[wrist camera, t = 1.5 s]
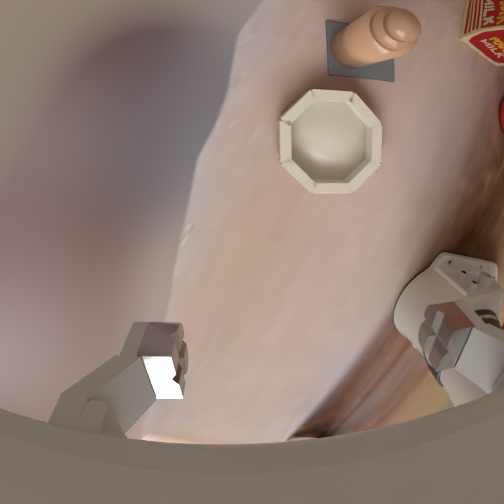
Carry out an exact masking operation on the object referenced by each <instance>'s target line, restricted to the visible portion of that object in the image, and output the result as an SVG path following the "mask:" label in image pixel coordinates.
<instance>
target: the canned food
mask: <svg viewBox="0 0 504 504" xmlns="http://www.w3.org/2000/svg"><path fill="white" fill-rule="evenodd" d="M499 122H500V126H501V129H502V132H503V133H504V98H503V99H502V101H501V103H500V106H499Z"/></svg>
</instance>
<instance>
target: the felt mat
mask: <svg viewBox="0 0 504 504" xmlns="http://www.w3.org/2000/svg"><path fill="white" fill-rule="evenodd" d="M348 25H349V24H348V23H340V22H331V21H326V35H327V55H328V75H338V76H349V77H358V78H367V79H375V80H382V81H389V82H394V61H393V58H392V59H388V60H385V61H381V62H377V63H374V64H370V65H367V66H363V67H360V68H356V69H350V68H346V67H344V66H342V65H340V64H339V63H338V62H337V61H336V60H335V59H334V58H333V56H332V54H331V51H330V42H331V39H332V38H333V36H334V35H335V34H337V33H338V32H339V31H341V30H342V29H343V28H345V27H346V26H348Z"/></svg>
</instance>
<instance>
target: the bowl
mask: <svg viewBox="0 0 504 504" xmlns="http://www.w3.org/2000/svg"><path fill="white" fill-rule="evenodd" d="M279 119H280V120H278V135H277V142H278V160H279V161H280V164H281V165H282V166H283V167H284V168H285V169H286V170H287V171H288V172H289V173H291V174H292V175H293V176H294V177H295V178H296V179H297V180H298V181H299V182H300V183H301V184H302V185H303V186H304V187H305V188H306V189H307V190H308V191H309V192H310V193H311V192H312V194H327V193H351V192H354V191H355V190H356V189H357V188H358V187H359V186H360V185H361V184H362V183H363V182H364V181H365V180H366V179H367V178H368V177H369V176H370V175H371V174H372V173H373V172H374V171H375V170H376V169H377V168H378V167H379V165H378V164H381V147H382V125H380V124H381V122H380V121H379V120H378V118H377V117H376V116H375V115H374V114H373V112H372V111H371V110H370V109H369V108H368V107H367V105H366V104H365V103H364V102H363V101H362V100H361V99H360V98H359V96H358V95H357V94H356V93H353V92H349V91H337V90H320V89H311V90H308V91H306V92H305V93H304V94H303V95H302V96H301V97H300V98H299V99H298V100H296V101H295V102H294V103H293V104H292V105H291V106H290V107H289V108H288V109H287V110H286V111H285V112H284V113H283V114H282V115H281V116H280V117H279Z"/></svg>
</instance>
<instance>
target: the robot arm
mask: <svg viewBox="0 0 504 504" xmlns="http://www.w3.org/2000/svg"><path fill="white" fill-rule="evenodd" d="M448 261H449V262H448ZM497 279H498V267H497V265H496V264H495V263H494V262H492V261H487V260H482V259H477V258H472V257H467V256H462V255H457V254H452V253H447V252H443V253H441V254H439V255H438V256H437V257H436V259H435V260H434V261H433V263H432V264H431V265H430V267H429V268H427V269H426V270H425V271H423V272H422V273H421V274H419V275H418V276H417V277H415V278H414V279H413V280H412V281H411V282H410V283H409V284H408V286H407V287H406V288H405V289H404V291H403V292H402V294H401V296H400V297H399V299H398V302H397V304H396V307H395V311H394V323H395V326H396V328H397V330H398V331H399V332H400V333H401V334H403V335H404V336H405V337H406V338H407V339H408V340H409V341H410V342H411V343H412V345H413V346H414V347H415V348H416V349H418V350H419V352H420V353H421V354H422V355H423V356H424V358H425V360H426V362H427V364H428V367H429V369H430V370H431V372H432V374H433V375H434V377H435V379H436V381H437V382H438V383H439V385H441V386H442V387H444V388H445V390H446V392H447V393H448V395H449V397H450V399H451V401H452V402H453V404H454V406H455V407H452V408H449V409H447V410H443V411H440V412H437V413H434V414H431V415H427V416H424V417H420V418H417V419H413V420H409V421H406V422H402V423H398V424H394V425H389V426H385V427H381V428H376V429H371V430H366V431H361V432H356V433H350V434H344V435H338V436H331V437H324V438H317V439H310V440H299V441H289V442H277V443H261V444H226V445H219V444H184V443H168V442H156V441H146V440H136V439H129V438H127V437H126V436H125V433H126V432H127V431H128V430H129V429H130V428H131V427H132V425H134V423H135V422H136V421H137V420H138V419H139V418H140V417H141V416H142V415H143V414H144V413H145V412H146V410H147V409H148V408H149V407H150V406H151V405H152V404H153V403H154V402H155V401H156V398H172V399H183V395H184V389H185V379H184V374H186V373H187V370H188V349H187V344H186V343H185V342H184V341H183V337H184V330H183V326H182V324H181V323H175V322H135V323H133V325H132V327H131V329H130V332H129V334H128V336H127V339H126V341H125V344H124V346H123V349H122V351H121V353H120V356H118V355H116V356H114V357H113V358H111V359H110V360H108V361H107V362H105V363H104V364H103V365H101V366H100V367H98V368H97V369H95V370H94V371H93V372H91V373H90V374H88V375H87V376H85V377H84V378H83V379H81V380H80V381H78V382H77V383H76V384H74V385H73V386H71V387H70V388H68V389H67V390H66V391H64V392H63V393H61V395H60V397H59V400H58V402H57V404H56V406H55V408H54V410H53V413H52V415H51V417H50V419H49V422H48V423H46V422H43V421H39V420H35V419H32V418H28V417H25V416H22V415H18V414H15V413H12V412H9V411H6V410H3V409H0V504H504V324H503V326H502V328H501V326H500V323H499V321H498V317H499V313H500V310H501V306H502V302H503V291H502V288H501V286H500V285H499V284H498V283H497Z"/></svg>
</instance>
